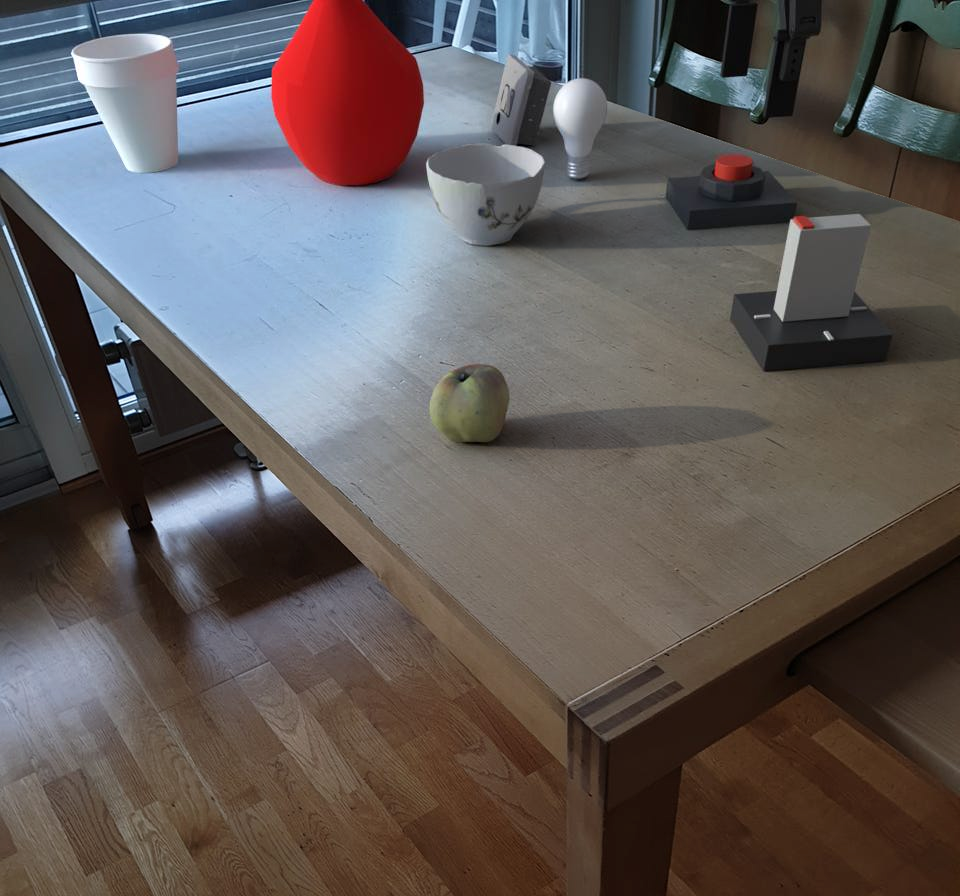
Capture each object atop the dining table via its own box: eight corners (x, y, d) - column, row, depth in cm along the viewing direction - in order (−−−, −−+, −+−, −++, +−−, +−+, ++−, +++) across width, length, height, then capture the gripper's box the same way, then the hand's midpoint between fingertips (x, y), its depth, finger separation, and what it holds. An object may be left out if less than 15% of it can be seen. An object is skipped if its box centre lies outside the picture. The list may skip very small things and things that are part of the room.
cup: (177, 181, 122) (148, 60, 113) (88, 179, 124) (51, 59, 115) (212, 149, 131) (188, 33, 121) (128, 147, 133) (98, 32, 123)
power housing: (765, 190, 114) (771, 154, 111) (793, 222, 107) (800, 185, 104) (665, 197, 113) (668, 161, 110) (687, 231, 106) (691, 193, 103)
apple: (537, 446, 77) (538, 379, 73) (440, 463, 76) (435, 396, 71) (517, 408, 81) (516, 343, 77) (424, 423, 80) (418, 358, 76)
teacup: (556, 252, 103) (557, 174, 98) (441, 265, 102) (436, 187, 96) (524, 201, 114) (524, 128, 108) (420, 213, 112) (414, 139, 107)
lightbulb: (541, 181, 118) (542, 81, 110) (572, 166, 122) (575, 68, 114) (582, 192, 115) (587, 90, 107) (613, 177, 118) (619, 76, 111)
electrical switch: (490, 130, 133) (495, 53, 126) (525, 129, 134) (532, 53, 128) (509, 152, 126) (515, 72, 120) (546, 151, 128) (554, 72, 121)
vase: (275, 158, 127) (227, -128, 106) (410, 141, 131) (388, -141, 110) (296, 208, 115) (245, -107, 94) (444, 187, 118) (427, -121, 97)
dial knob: (838, 304, 87) (860, 210, 81) (848, 316, 85) (871, 222, 79) (773, 309, 87) (790, 215, 81) (782, 322, 85) (801, 227, 79)
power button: (744, 169, 109) (746, 152, 108) (755, 181, 106) (758, 165, 105) (709, 171, 109) (711, 155, 107) (719, 184, 106) (722, 167, 105)
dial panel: (842, 309, 92) (849, 282, 90) (886, 361, 84) (894, 333, 83) (729, 318, 91) (733, 291, 89) (763, 372, 84) (768, 344, 82)
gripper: (902, -167, 74) (837, 132, 89) (788, -194, 91) (750, 59, 106) (808, -163, 73) (758, 137, 88) (712, -191, 91) (684, 63, 106)
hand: (754, 95), depth 97 cm, fingers open, 13 cm apart
